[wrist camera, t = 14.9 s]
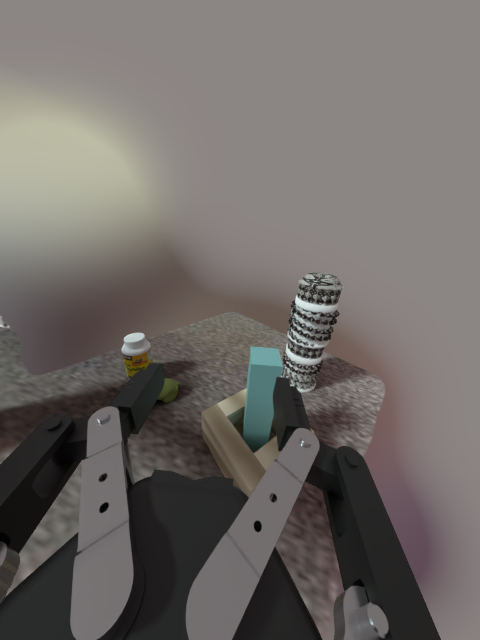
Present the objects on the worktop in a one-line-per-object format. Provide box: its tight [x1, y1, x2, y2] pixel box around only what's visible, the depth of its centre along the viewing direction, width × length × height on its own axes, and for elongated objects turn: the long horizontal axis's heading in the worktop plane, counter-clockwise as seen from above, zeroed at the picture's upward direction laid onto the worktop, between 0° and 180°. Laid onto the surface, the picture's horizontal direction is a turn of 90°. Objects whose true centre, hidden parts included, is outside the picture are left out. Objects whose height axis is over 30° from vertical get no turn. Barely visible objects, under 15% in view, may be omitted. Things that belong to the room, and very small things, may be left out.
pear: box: [157, 378, 180, 402], centre depth 37 cm, size 6×5×10 cm
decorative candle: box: [281, 273, 344, 393], centre depth 40 cm, size 9×9×25 cm
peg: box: [243, 347, 283, 451], centre depth 26 cm, size 4×4×16 cm
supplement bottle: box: [122, 333, 153, 380], centre depth 42 cm, size 6×6×10 cm
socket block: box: [201, 388, 315, 498], centre depth 29 cm, size 12×12×6 cm
